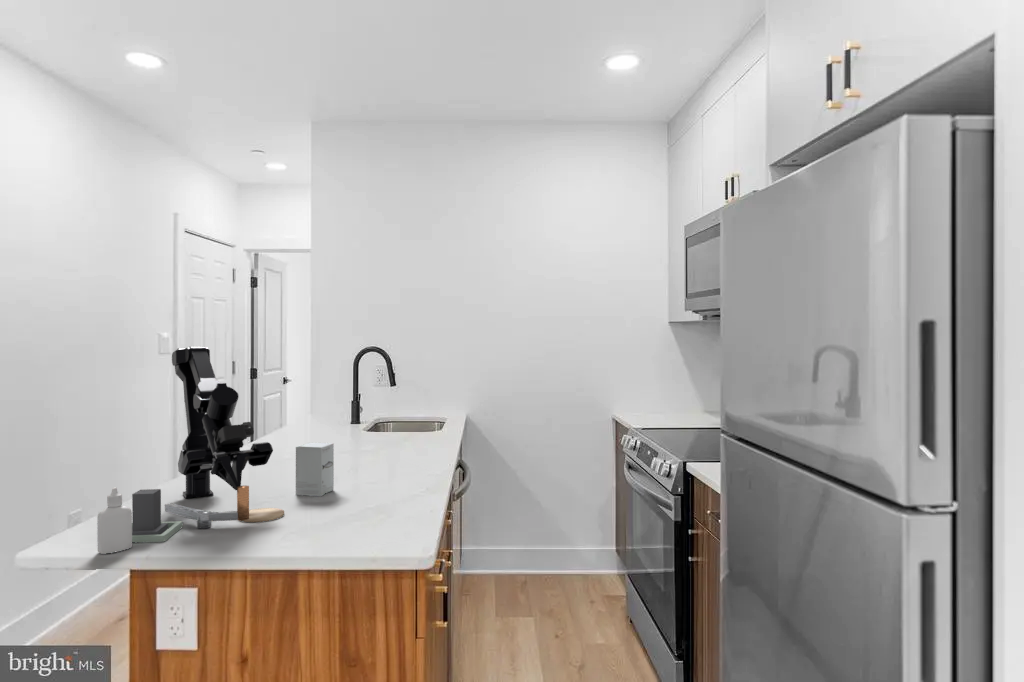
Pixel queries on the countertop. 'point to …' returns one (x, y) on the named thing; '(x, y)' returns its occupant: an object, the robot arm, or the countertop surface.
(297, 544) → the countertop surface
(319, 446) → the supplement box
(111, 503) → the eye dropper bottle
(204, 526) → the grey rod with hub
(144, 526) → the plug
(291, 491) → the countertop surface
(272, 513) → the coaster
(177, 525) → the socket frame
